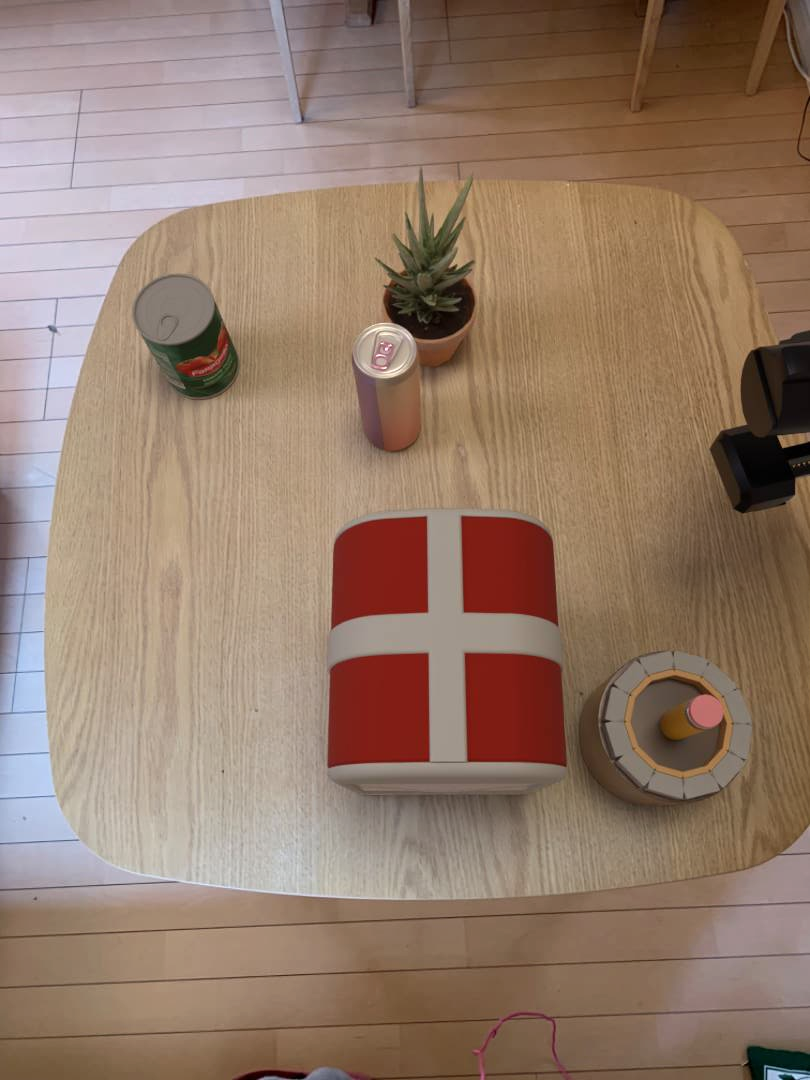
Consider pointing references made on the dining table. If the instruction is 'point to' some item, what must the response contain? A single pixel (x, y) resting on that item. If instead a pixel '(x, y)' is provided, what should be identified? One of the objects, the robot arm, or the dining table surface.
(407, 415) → the beverage can
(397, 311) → the potted plant
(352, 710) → the red gift box
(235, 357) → the canned tomato
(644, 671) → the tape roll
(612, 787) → the brown cylindrical pot
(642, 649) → the dining table surface
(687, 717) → the pencil
